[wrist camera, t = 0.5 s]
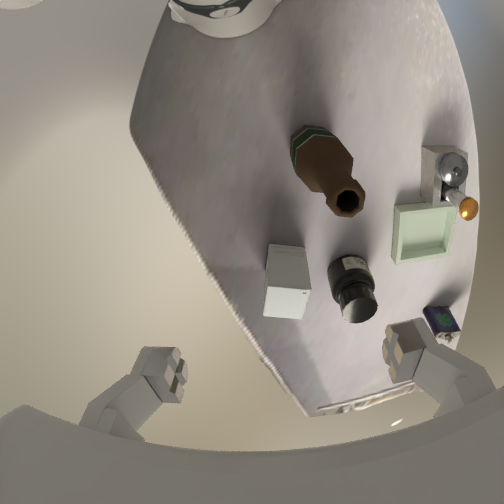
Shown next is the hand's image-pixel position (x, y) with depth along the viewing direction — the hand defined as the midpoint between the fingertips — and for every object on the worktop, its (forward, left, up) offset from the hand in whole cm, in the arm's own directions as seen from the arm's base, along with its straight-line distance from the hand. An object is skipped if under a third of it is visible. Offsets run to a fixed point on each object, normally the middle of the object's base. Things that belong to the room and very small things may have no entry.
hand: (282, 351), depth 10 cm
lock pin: (+11, +31, -39) cm, 51 cm away
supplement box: (+23, -2, -40) cm, 46 cm away
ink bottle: (+28, +11, -40) cm, 50 cm away
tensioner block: (+8, +31, -39) cm, 51 cm away
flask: (+48, +38, -40) cm, 73 cm away
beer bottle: (+2, +6, -40) cm, 40 cm away
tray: (+21, +28, -39) cm, 53 cm away
